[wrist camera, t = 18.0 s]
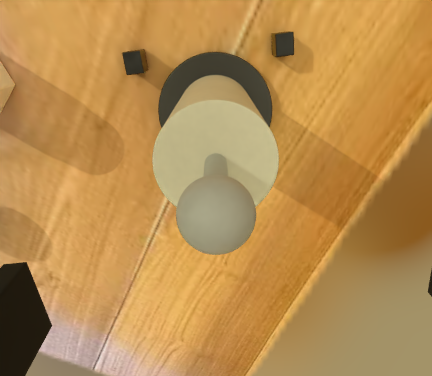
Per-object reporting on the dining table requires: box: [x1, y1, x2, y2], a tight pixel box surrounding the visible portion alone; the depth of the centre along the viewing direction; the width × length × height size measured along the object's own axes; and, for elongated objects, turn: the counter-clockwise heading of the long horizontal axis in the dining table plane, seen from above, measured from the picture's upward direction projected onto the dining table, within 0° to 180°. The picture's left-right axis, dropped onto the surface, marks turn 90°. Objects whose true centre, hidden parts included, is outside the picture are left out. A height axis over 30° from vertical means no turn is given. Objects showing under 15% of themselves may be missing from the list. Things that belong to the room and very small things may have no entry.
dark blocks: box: [122, 32, 294, 75], centre depth 41 cm, size 2×19×3 cm, turn 97°
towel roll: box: [153, 52, 279, 255], centre depth 30 cm, size 14×14×31 cm
